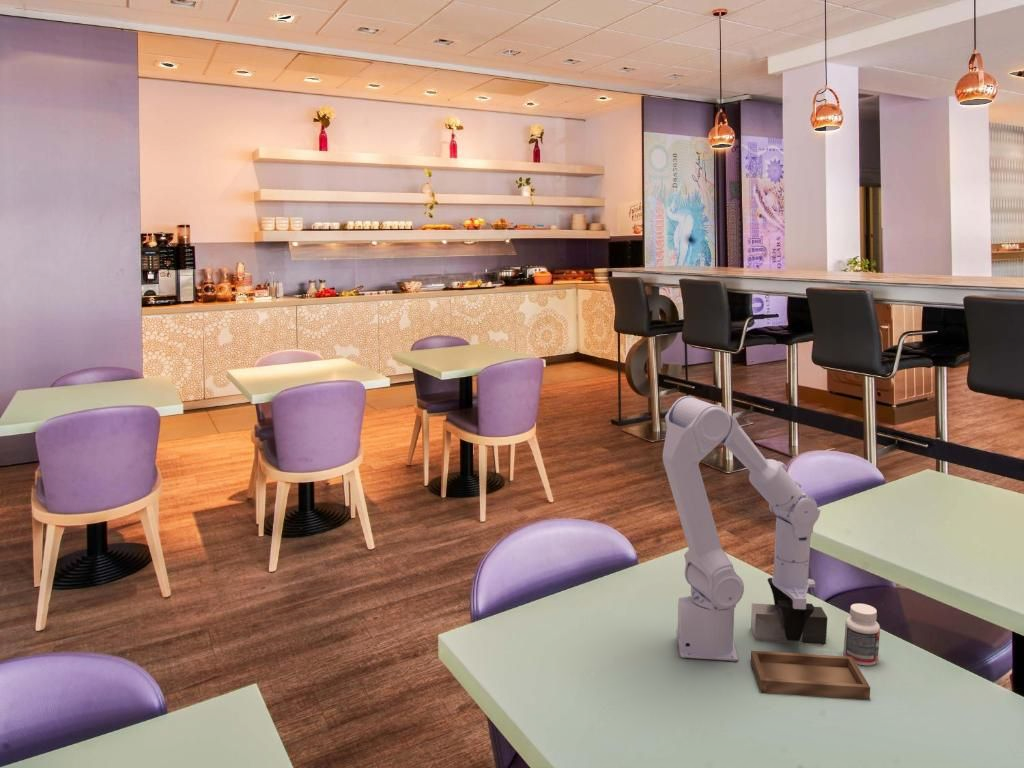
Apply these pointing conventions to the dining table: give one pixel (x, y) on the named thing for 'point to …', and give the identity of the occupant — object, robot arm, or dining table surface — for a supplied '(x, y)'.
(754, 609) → the low gray brick
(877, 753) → the dining table surface
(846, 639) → the pill bottle
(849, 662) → the walnut tray
